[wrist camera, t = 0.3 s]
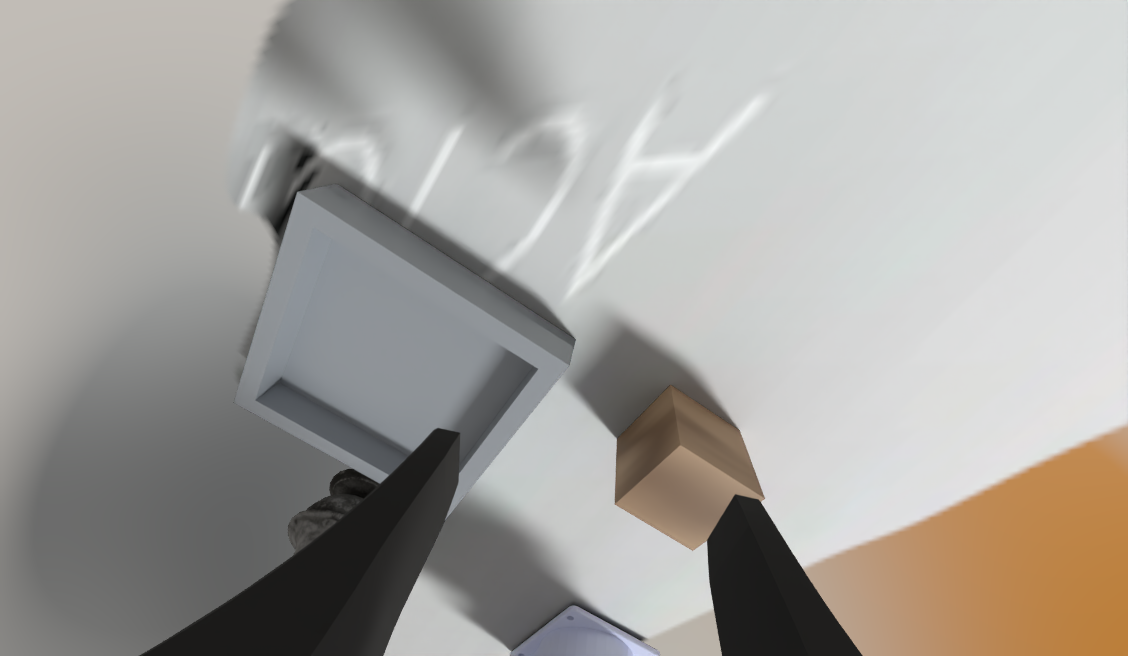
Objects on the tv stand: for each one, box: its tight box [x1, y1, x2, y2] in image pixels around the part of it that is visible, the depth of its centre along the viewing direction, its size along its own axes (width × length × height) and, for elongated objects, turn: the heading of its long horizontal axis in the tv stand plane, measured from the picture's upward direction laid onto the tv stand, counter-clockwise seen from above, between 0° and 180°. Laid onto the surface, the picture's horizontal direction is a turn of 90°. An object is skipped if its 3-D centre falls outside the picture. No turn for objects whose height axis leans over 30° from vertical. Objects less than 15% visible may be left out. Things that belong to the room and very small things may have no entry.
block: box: [615, 385, 765, 551], centre depth 20 cm, size 4×4×4 cm
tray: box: [234, 184, 576, 520], centre depth 21 cm, size 13×13×2 cm
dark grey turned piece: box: [288, 469, 380, 555], centre depth 22 cm, size 6×6×12 cm
